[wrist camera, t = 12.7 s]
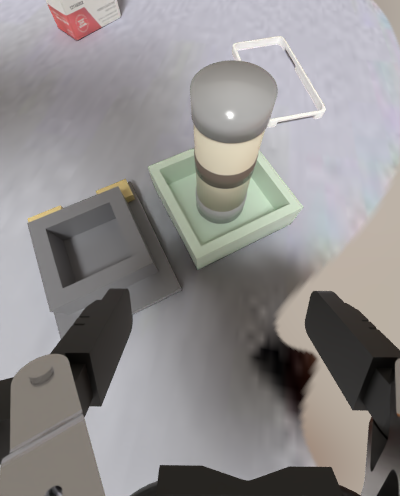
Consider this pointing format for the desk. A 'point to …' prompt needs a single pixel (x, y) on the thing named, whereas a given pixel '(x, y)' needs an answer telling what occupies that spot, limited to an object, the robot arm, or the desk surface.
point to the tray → (229, 234)
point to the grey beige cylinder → (228, 133)
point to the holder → (99, 254)
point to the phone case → (298, 69)
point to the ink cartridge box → (83, 15)
